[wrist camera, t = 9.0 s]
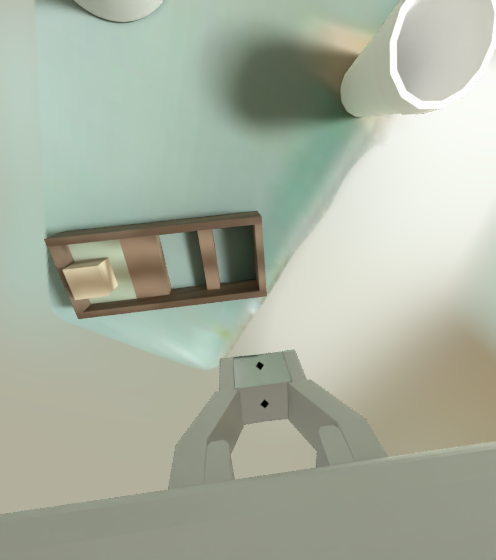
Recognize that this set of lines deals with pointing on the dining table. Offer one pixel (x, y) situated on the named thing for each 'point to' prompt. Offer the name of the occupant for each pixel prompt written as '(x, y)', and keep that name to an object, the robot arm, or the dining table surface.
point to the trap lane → (155, 264)
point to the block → (90, 278)
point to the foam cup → (421, 58)
